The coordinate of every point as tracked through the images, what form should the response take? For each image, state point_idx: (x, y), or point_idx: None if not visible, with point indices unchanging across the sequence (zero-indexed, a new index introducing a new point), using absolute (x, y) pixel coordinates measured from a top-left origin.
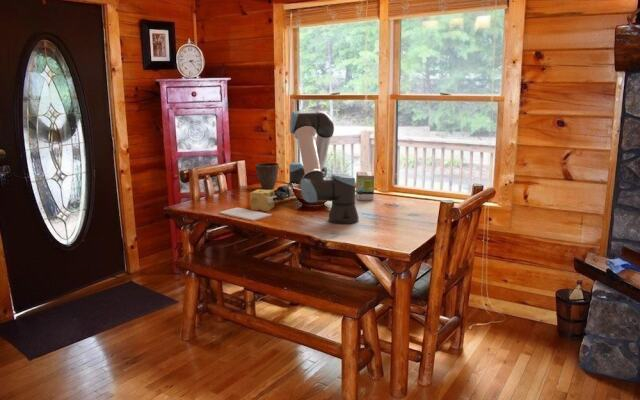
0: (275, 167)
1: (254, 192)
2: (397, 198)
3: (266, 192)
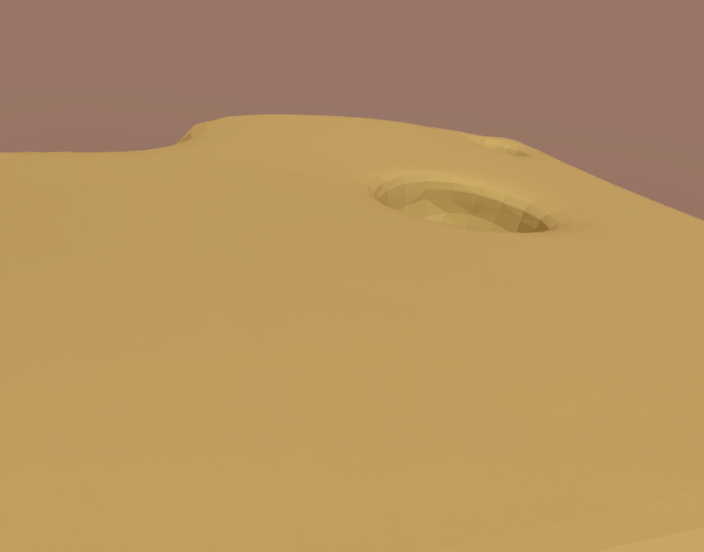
0: None
1: (432, 128)
2: None
3: (107, 160)
